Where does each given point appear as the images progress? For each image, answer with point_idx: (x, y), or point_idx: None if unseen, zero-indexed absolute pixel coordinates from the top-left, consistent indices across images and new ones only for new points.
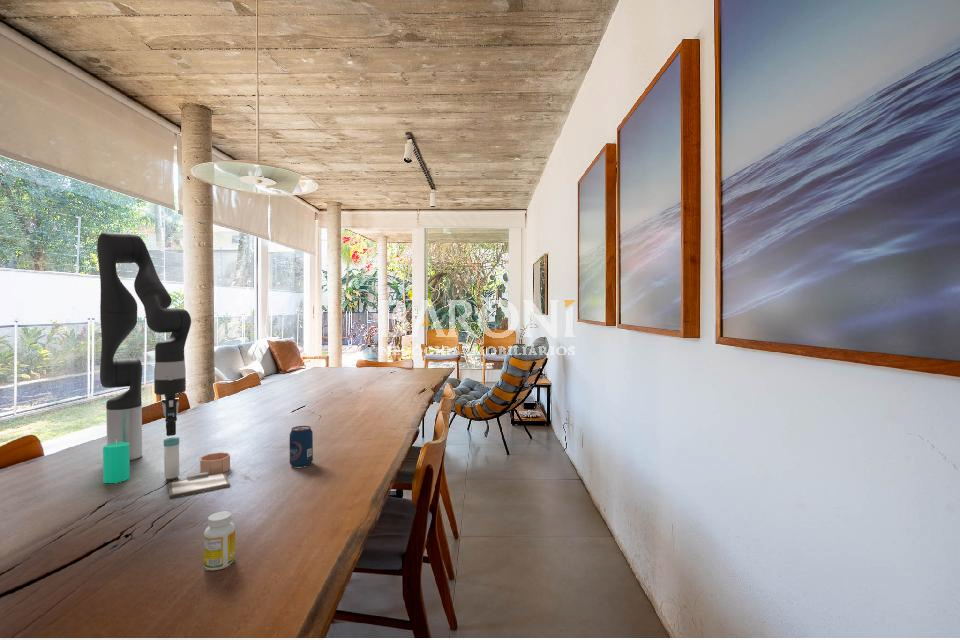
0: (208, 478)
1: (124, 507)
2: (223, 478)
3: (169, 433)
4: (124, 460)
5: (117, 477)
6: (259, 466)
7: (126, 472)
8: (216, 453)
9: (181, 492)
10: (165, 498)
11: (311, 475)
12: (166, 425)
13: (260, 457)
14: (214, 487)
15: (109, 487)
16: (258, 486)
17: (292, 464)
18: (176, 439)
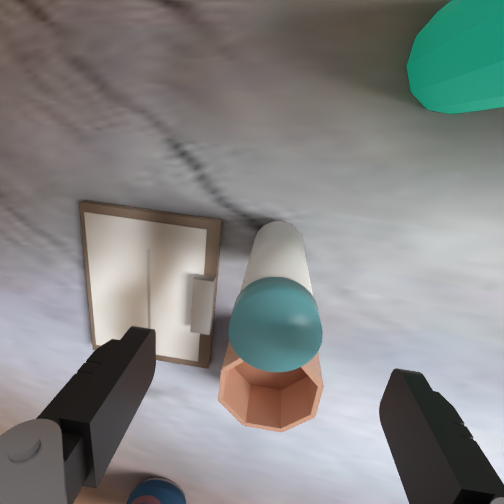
0: (173, 322)
1: (79, 65)
2: None
3: (104, 350)
4: (464, 71)
5: (418, 53)
6: (221, 437)
7: (433, 93)
8: (312, 407)
9: (86, 235)
10: (96, 190)
11: None
12: (78, 395)
13: (305, 465)
14: (91, 313)
15: (371, 24)
16: (60, 386)
17: (145, 485)
18: (240, 352)
